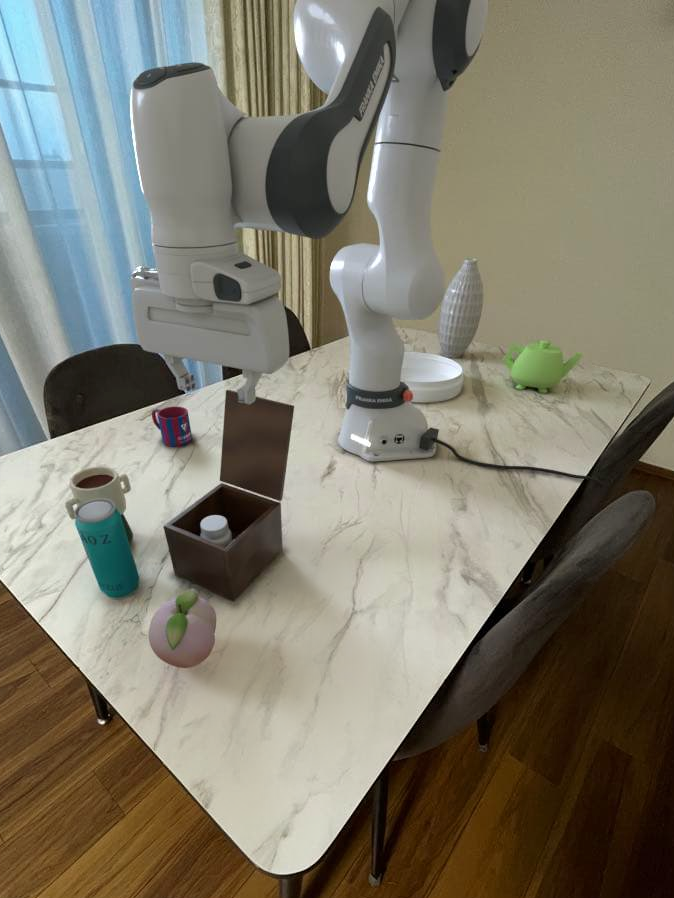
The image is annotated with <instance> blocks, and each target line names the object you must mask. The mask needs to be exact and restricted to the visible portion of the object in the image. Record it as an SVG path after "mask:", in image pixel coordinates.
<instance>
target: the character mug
mask: <svg viewBox="0 0 674 898" xmlns="http://www.w3.org/2000/svg"><path fill="white" fill-rule="evenodd" d="M122 483H123V486H122ZM69 488H70V490H71V493H72V496H73V497H72V498H69V499H67V501H65V503H64V506H65V509H66V511H67V514H68V517H69V518H70V519H71V520H76V518H75V516H74V511H75V509H74V507H73V506H74V505H76V508H77V507H78V506H79V505H81V504H82V503H84V502H86V501H89V500H93V499H100V498H103V499H109V500H111V501H113V502H114V504H115V506H116V508H117V509H118V510H119V512H120V514H121V518H122V521H123V524H124V528H125V531H126V534H127V537H128V541H129V544H130V545H131V543H132V541H133V539H134V537H133V536H134V534H133V533H134V532H133V531H132V528H131V526H130V524H129V523H128V520H127V518H126V516H125V514H124V513H125V511H126V509H127V500H126V496H125V494H128V493H129V492H130V491H131V490H132V487H131V483H130V480H129V477H128V475H127V474H126V473H125V474H123V473H122V474H120V475H119V473H118V471H117V470H115V468H113V467H109V466H91V467H87V468H83V469H80V470H79V471H77V472H76V473H74V474H73V475H72V476H71V477H70V479H69Z"/></svg>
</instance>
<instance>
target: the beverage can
mask: <svg viewBox="0 0 674 898" xmlns="http://www.w3.org/2000/svg"><path fill="white" fill-rule="evenodd" d="M74 516H75V518H76V519H74V525H75V528H76V530H77V533H78V535H79V538H80V540H81V543H82V546H83V549H84V552H85V554H86V557H87V559H88V562H89V564H90V567H91V570H92V572H93V575H94V577H95V580H96V582H97V585H98V587H99V590H100V591H101V592H102V593H103V594H104V595H105V596H107V598H109V599H112V600H117V601H119V600H125V599H128V598H129V597H131V596H133V595H134V594H135V593H136V592H137V590H138V587H139V584H140V575H139V570H138V568H137V564H136V561H135V557H134V554H133V551H132V548H131V543H130V544H129V541H128V537H127V534H126V531H125V528H124V524H123V521H122V518H121V514H120V512H119V510H118V509H117V508H116V506H115V504H114V502H113V501H111V500H109V499H103V498H100V499H93V500H89V501H86V502H84V503H82V504H81V505H79V506H78V507H77V506H76V508H75V509H74Z"/></svg>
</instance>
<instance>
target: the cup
mask: <svg viewBox="0 0 674 898" xmlns="http://www.w3.org/2000/svg"><path fill="white" fill-rule="evenodd" d="M156 414H157V415H156ZM189 416H190V415H189V411H188V409H187V408H186V407H184V406H179V405H178V406H177V405H176V406H174V405H173V406H167V407H164V408H161V409H159V408H155V409H153V410H152V411H151V419H152V421H153V424H154V425H155V427H156V428H157V429H158V430H159V431H160V435H161V439H162V443H163V444H164V445H165V446H168V447H182V446H186V445H188V444H189V443H191V442H192V441H193V435H192V428H191V423H190V417H189Z"/></svg>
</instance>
